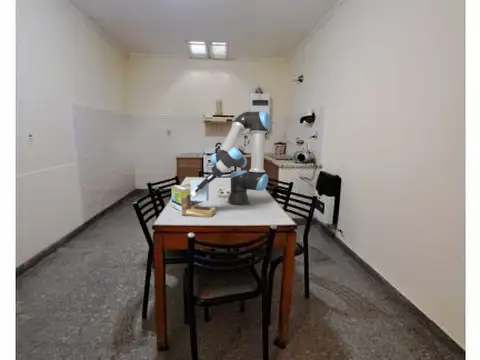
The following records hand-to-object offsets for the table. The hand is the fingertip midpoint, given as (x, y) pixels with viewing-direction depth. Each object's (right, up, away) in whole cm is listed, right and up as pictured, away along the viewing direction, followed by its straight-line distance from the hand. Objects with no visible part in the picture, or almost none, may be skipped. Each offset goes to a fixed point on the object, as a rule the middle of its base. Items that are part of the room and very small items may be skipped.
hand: (193, 194), depth 205 cm
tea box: (-9, -10, +16) cm, 21 cm away
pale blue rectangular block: (+4, -4, 0) cm, 5 cm away
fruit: (-8, -8, +32) cm, 34 cm away
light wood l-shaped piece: (+3, -12, +2) cm, 13 cm away
